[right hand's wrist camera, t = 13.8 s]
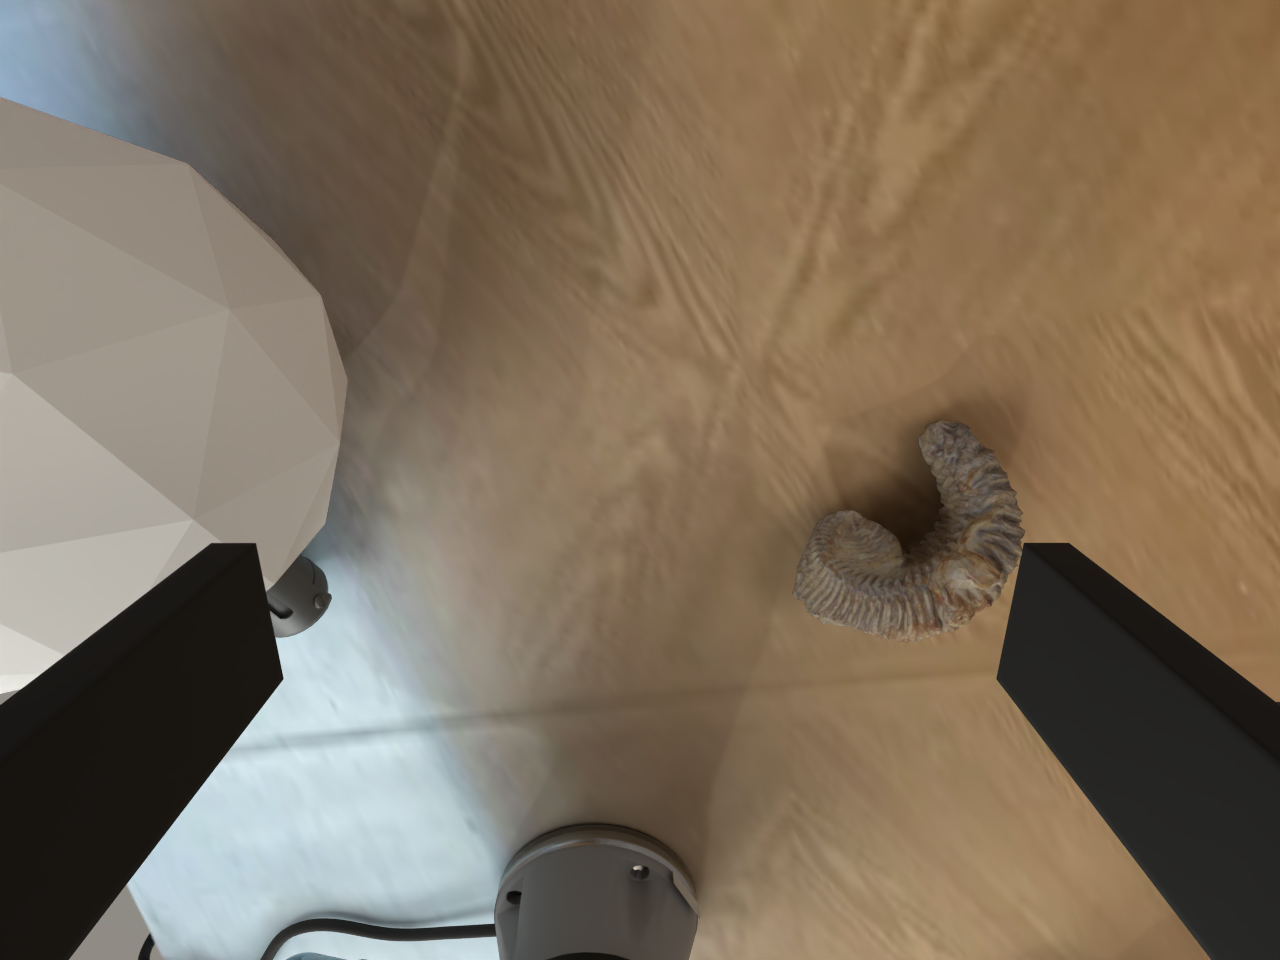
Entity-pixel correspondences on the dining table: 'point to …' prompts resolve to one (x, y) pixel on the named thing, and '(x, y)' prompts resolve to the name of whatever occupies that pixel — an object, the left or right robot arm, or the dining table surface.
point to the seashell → (919, 551)
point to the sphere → (147, 390)
